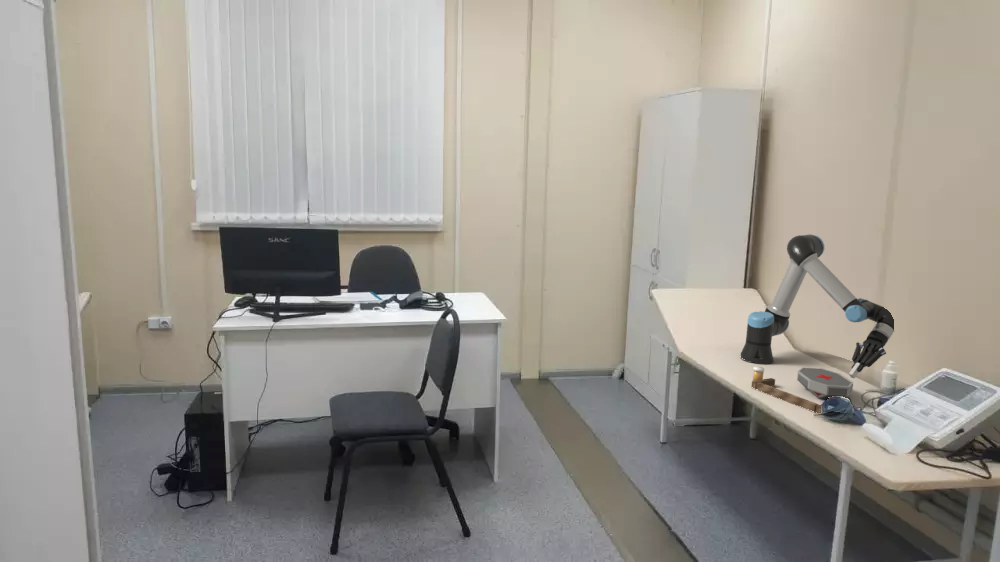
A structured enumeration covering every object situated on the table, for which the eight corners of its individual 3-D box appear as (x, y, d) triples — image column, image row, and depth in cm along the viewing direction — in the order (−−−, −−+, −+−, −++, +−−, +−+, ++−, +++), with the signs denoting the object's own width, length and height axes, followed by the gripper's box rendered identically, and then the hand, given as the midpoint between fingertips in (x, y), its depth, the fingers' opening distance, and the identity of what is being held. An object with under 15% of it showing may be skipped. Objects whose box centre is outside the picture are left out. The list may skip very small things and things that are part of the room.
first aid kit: (858, 405, 262) (830, 385, 287) (860, 387, 261) (832, 369, 286) (814, 402, 263) (790, 383, 288) (816, 385, 262) (792, 366, 286)
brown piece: (751, 387, 278) (752, 381, 278) (770, 384, 284) (771, 378, 283) (820, 414, 249) (821, 407, 249) (840, 410, 255) (841, 403, 254)
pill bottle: (749, 382, 285) (751, 367, 284) (756, 381, 287) (758, 366, 286) (757, 386, 281) (759, 370, 280) (764, 384, 283) (766, 368, 282)
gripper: (862, 326, 291) (834, 366, 286) (891, 333, 280) (862, 375, 274) (868, 337, 294) (840, 377, 289) (897, 344, 283) (869, 385, 278)
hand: (851, 376), depth 282 cm, fingers closed
